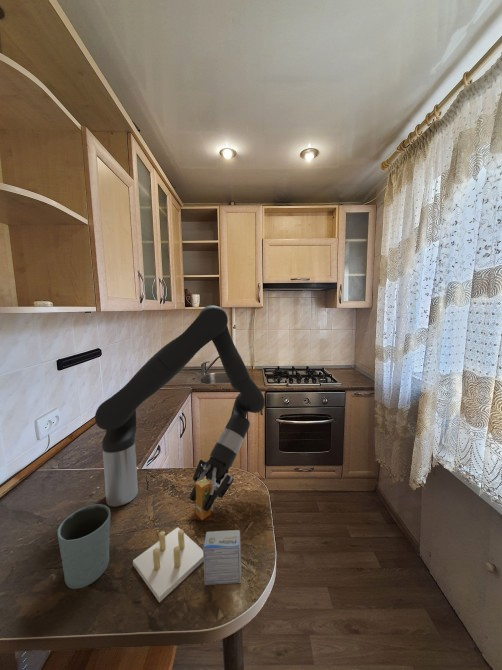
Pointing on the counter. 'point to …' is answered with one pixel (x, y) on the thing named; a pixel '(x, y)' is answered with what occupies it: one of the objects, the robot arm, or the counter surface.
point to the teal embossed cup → (85, 545)
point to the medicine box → (222, 557)
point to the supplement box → (202, 497)
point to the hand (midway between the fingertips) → (198, 504)
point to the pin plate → (168, 562)
